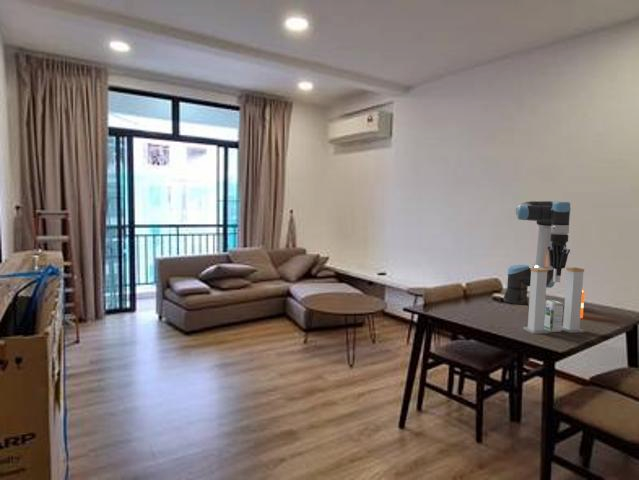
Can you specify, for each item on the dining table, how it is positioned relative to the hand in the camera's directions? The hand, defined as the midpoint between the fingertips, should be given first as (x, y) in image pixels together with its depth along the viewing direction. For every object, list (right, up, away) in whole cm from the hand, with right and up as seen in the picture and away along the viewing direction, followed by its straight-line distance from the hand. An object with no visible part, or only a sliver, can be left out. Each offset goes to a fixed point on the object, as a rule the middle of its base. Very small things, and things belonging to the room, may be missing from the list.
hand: (556, 281), depth 206 cm
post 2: (+9, -24, +3) cm, 26 cm away
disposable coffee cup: (+6, -22, +31) cm, 39 cm away
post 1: (-10, -24, +1) cm, 26 cm away
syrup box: (0, -25, +3) cm, 25 cm away
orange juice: (+27, -22, +30) cm, 46 cm away
